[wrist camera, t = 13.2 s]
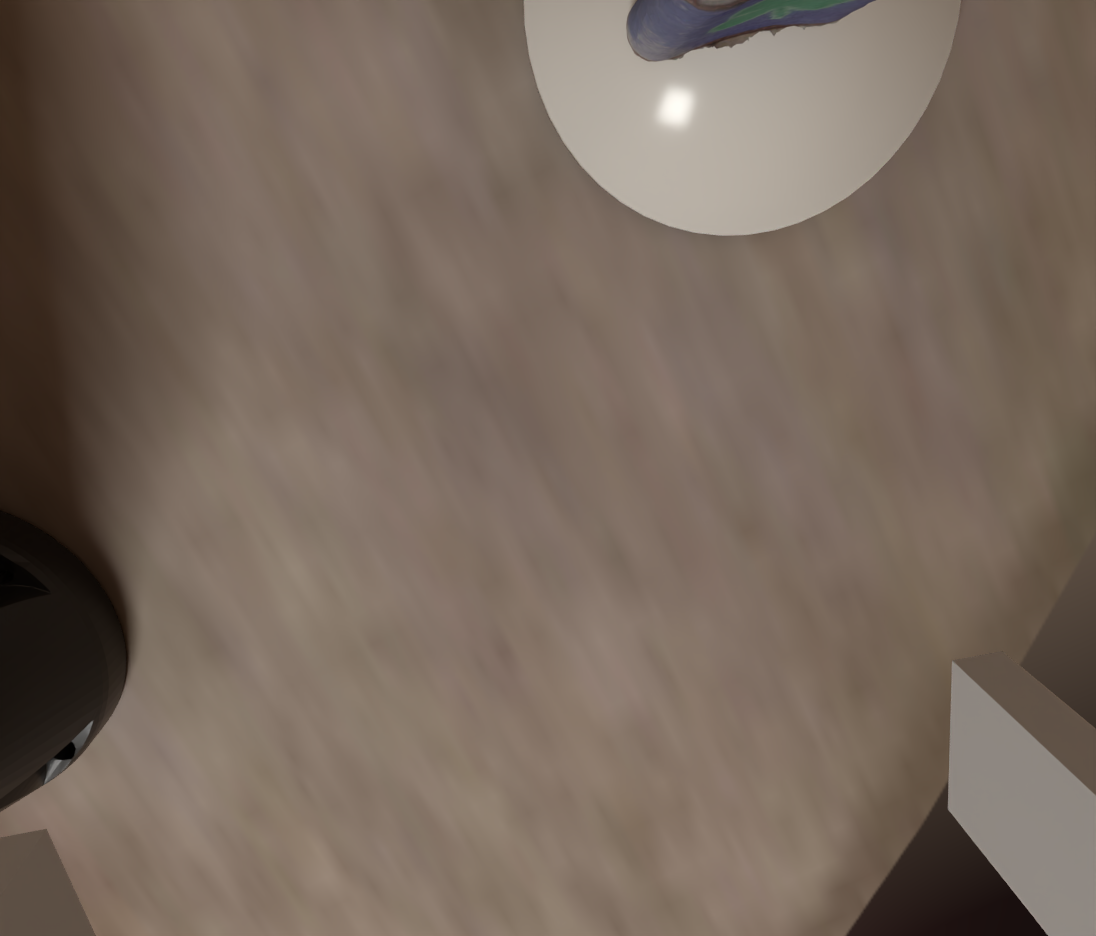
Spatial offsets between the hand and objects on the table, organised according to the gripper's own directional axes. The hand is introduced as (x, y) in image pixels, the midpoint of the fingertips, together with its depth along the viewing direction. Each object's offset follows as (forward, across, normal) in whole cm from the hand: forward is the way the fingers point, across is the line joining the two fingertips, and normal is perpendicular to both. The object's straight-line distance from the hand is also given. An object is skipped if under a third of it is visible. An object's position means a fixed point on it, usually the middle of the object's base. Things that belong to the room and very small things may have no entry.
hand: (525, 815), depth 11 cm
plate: (+25, +12, +14) cm, 31 cm away
